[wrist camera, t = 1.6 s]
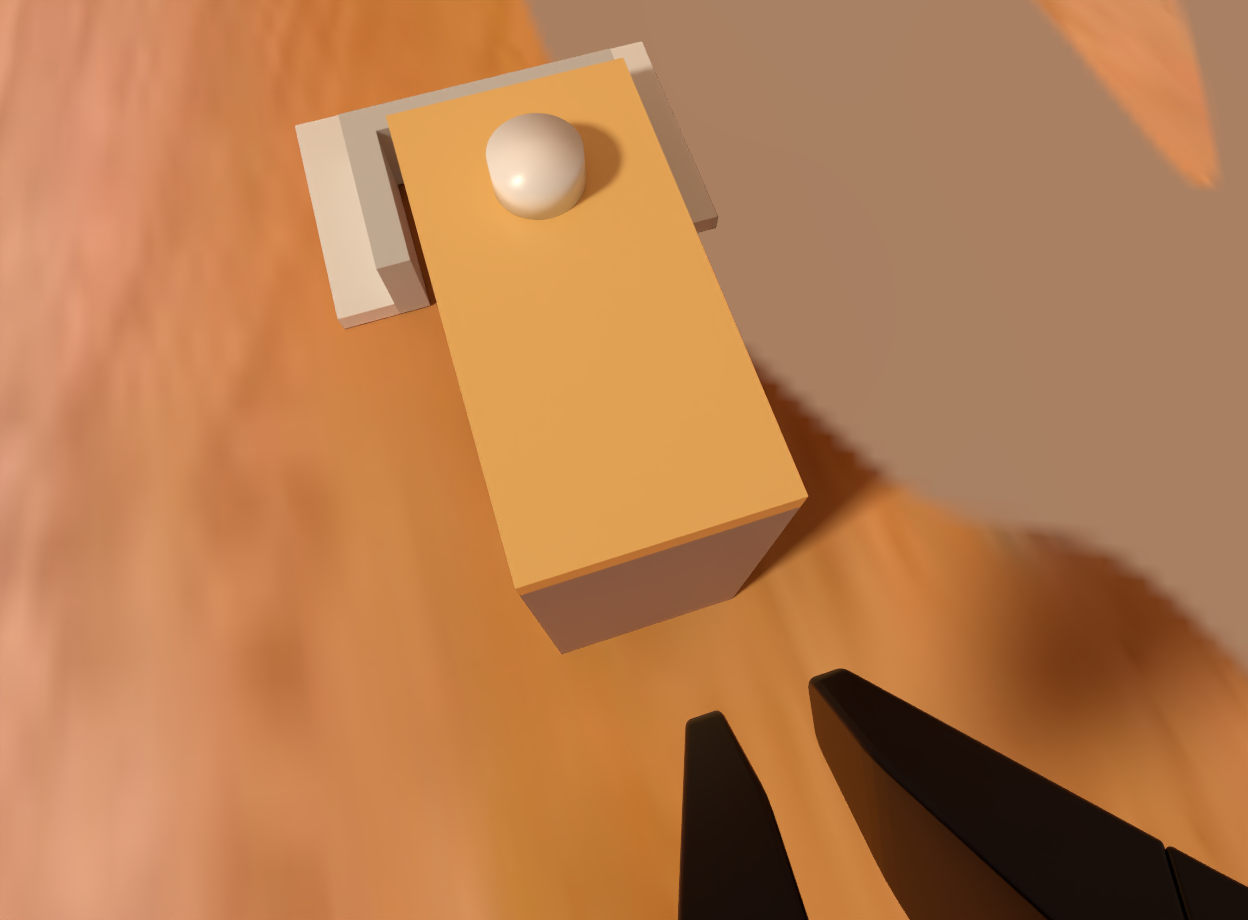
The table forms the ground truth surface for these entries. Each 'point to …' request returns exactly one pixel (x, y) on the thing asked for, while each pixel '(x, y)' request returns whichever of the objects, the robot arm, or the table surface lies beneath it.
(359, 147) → the bracket
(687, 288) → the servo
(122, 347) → the table surface
